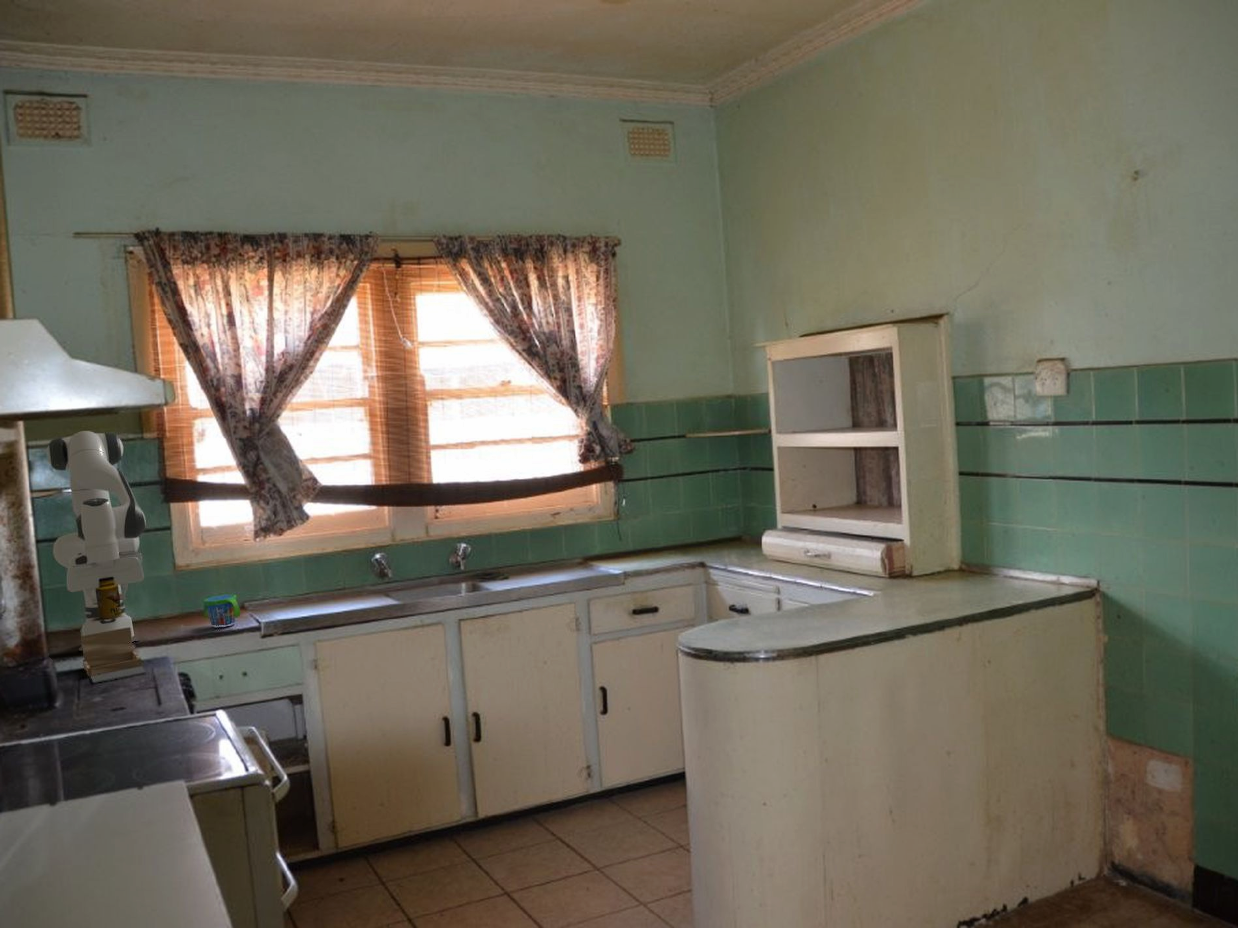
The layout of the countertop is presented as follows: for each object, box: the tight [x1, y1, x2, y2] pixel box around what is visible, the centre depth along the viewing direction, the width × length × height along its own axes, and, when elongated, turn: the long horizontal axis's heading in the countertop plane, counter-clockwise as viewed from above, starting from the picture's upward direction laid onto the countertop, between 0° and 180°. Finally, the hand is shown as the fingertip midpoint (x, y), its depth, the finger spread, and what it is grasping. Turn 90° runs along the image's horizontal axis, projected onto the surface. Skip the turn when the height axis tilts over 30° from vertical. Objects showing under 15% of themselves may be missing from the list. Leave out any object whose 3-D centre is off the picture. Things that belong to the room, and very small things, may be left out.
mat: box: [89, 665, 147, 684], centre depth 321 cm, size 9×14×1 cm, turn 121°
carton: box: [80, 627, 143, 677], centre depth 333 cm, size 16×15×10 cm
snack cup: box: [203, 594, 241, 626], centre depth 382 cm, size 16×10×10 cm
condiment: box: [90, 577, 124, 622], centre depth 319 cm, size 7×8×12 cm
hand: (108, 602), depth 320 cm, fingers closed on condiment, 6 cm apart
